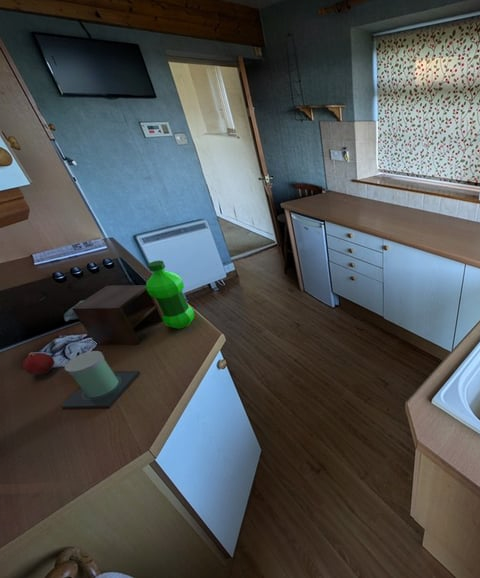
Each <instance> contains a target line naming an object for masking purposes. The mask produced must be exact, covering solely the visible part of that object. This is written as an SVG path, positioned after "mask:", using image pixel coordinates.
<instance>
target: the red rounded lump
mask: <svg viewBox="0 0 480 578" xmlns="http://www.w3.org/2000/svg"><path fill="white" fill-rule="evenodd" d="M54 365H55V360H54V357H53V356H51V355H50V354H48V353H44V352H30V353H29V354H28V355H27V357H26V358H25V359H24V361H23V363H22V366H23V369H24V371H25V372H27V373H28V374H32V375H46V374H48V373H49V372H50V371H51V370H52V368H53V367H54Z"/></svg>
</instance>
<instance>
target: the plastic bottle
mask: <svg viewBox="0 0 480 578" xmlns="http://www.w3.org/2000/svg"><path fill="white" fill-rule="evenodd" d="M147 267H148V269H149V271H150V272H152V275H151V276H149V278H148V280H147V281H146V283H145V285H146V288H147V292H148V294H149V295H150V296H151V297H154V299H155V300H156V303H157V305H158V307H159V309H160V311H161V314H162V318H163V321H162V322H163V324H164V325H165V326H166V327H169V328H173V329H179V330H180V329H184V328H186V327H188V326H189V325H190V324H191V322H192V321H193V320H194V319H195V311H194V310H193V307H192V306H190V305H189V304H188V302H187V300H186V297H185V295H184V292H183V290H184V289H185V284H184V282H183V278H182V277H181V276H180V275H179V274H177V273H175V272H171V271H168V270H165V268H166V265H165V263H164V261H163V260H154V261H151V262H149V263H148V264H147Z"/></svg>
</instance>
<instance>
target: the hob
mask: <svg viewBox="0 0 480 578" xmlns="http://www.w3.org/2000/svg"><path fill="white" fill-rule="evenodd" d="M113 373H114V374H115V376H116V377H117V379H118V381H119V382H118V384H117V386H116V387H115V388H114V389H113V390H111V391H110V392H108V393H106V394H104V395H102V396H99V397H93V398H91V397H88V396H87V395H86V394H85V393H84V392H83V390H82V389H81V388H80V387H79V389H77V390H76V391H75V392H74V393H73V394H72V395H71V396H70V397H68V399H67V400H66V401H65V402H64V403H62V405H60V408H61V409H62V410H75V409H76V410H79V409H83V410H84V409H111V407H112V405H114V403H115V402H116V401H117V400H119V398H120V397H121V396H122V394H123V393H124V392H125V391H126V390H127V389H128V387H130V385H132V383H133V382H134V381H135V380H136V379H137V378H138V377H139V376H140V374H141V372H140V371H139V370H127V371H126V370H125V371H123V370H121V371H119V370H117V371H113Z"/></svg>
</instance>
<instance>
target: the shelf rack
mask: <svg viewBox="0 0 480 578" xmlns="http://www.w3.org/2000/svg"><path fill="white" fill-rule="evenodd" d="M83 300H84V301H83ZM83 300H82V301H83V302H81V303H80V304H78V303H77V304H78V305H77V306H75V305H74V306H75V307H74V306H73V307H74V308H72V307H71V308H72V309H73V311H74V312H75V314H76V315H77V317H78V318H79V319H78V320H79V321H80V324H81V325H82V326H83V327H84V329H85V331H86V333H88V335H89V336H90V338H91V340H92V341H93V342H94V341H95V342H96V343H97V344H98V345H97V346H119V345H125V346H127V345H140V344H141V343H142V341H141V340H140V338H139V337H138V335H137V333H136V331H135V328H136V327H137V326H138V325H139V324H140V323H141V322H163V318H162V314H163V313H162V311H161V308H160V306H159V304H158V302H157V300H156V298H154V297H151V296H150V295H149V294H148V292H147V288H146V284H142V285H141V284H140V285H139V284H138V285H137V284H135V285H133V284H132V285H131V284H129V285H123V284H122V285H120V284H119V285H105V286H104V287H103V288H101V289H99V290H98V291H96V292H95V293H93V294H92V295H90V296H88V297H87V298H85V299H83ZM95 342H94V343H95Z"/></svg>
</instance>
